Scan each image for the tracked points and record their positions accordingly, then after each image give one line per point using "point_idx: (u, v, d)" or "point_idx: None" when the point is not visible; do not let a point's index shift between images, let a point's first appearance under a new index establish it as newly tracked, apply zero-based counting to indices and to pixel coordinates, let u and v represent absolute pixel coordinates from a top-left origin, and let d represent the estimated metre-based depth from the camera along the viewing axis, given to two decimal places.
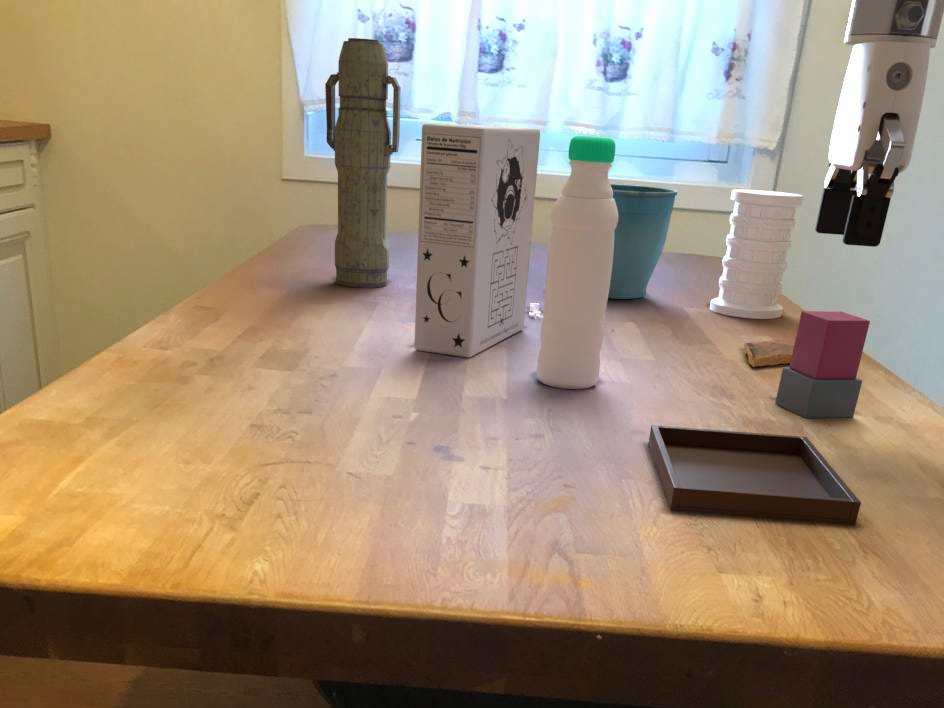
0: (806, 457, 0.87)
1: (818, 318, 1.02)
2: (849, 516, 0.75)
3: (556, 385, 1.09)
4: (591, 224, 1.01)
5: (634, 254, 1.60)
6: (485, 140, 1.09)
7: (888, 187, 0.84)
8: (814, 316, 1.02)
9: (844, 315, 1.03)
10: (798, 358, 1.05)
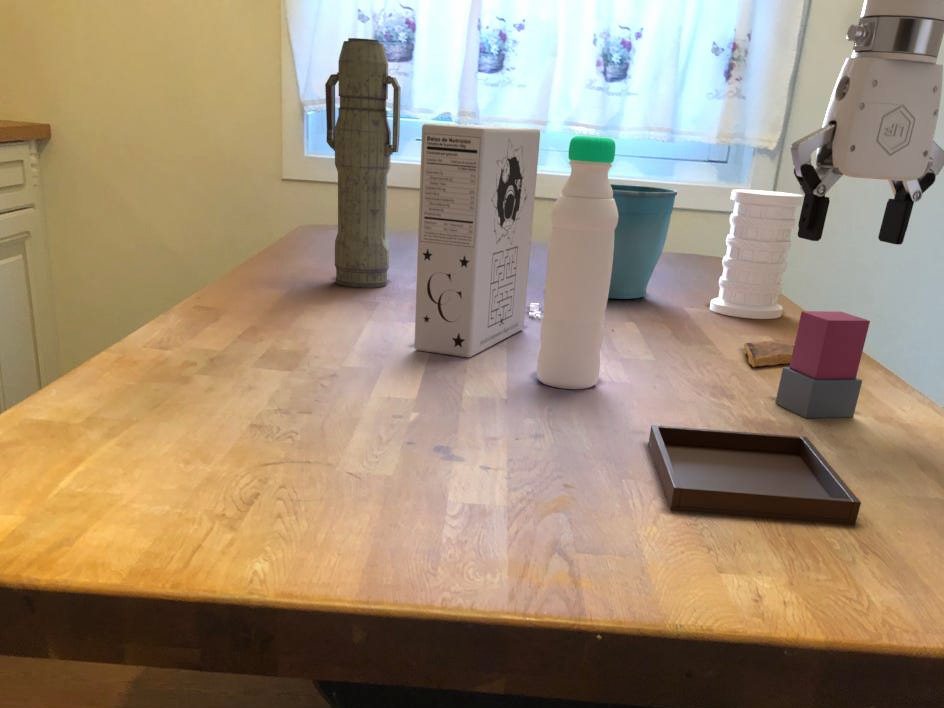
0: (806, 457, 0.87)
1: (818, 318, 1.02)
2: (849, 516, 0.75)
3: (556, 385, 1.09)
4: (591, 224, 1.01)
5: (634, 254, 1.60)
6: (485, 140, 1.09)
7: (807, 185, 0.95)
8: (814, 316, 1.02)
9: (844, 315, 1.03)
10: (798, 358, 1.05)
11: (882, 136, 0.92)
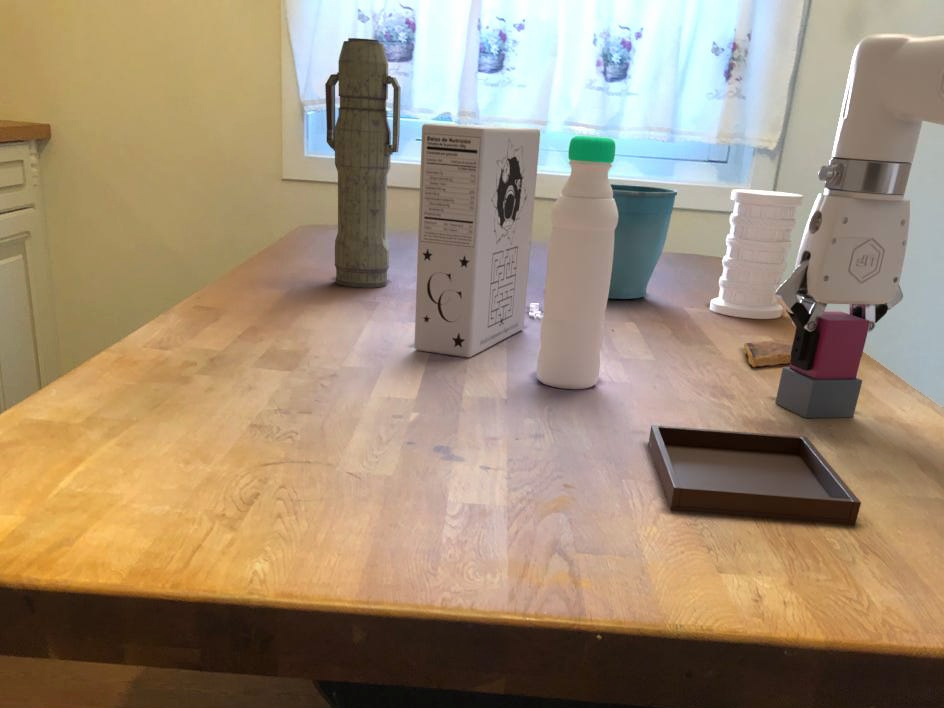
0: (806, 457, 0.87)
1: None
2: (849, 516, 0.75)
3: (556, 385, 1.09)
4: (591, 224, 1.01)
5: (634, 254, 1.60)
6: (485, 140, 1.09)
7: (798, 321, 1.01)
8: None
9: (844, 315, 1.03)
10: None
11: (853, 266, 0.98)
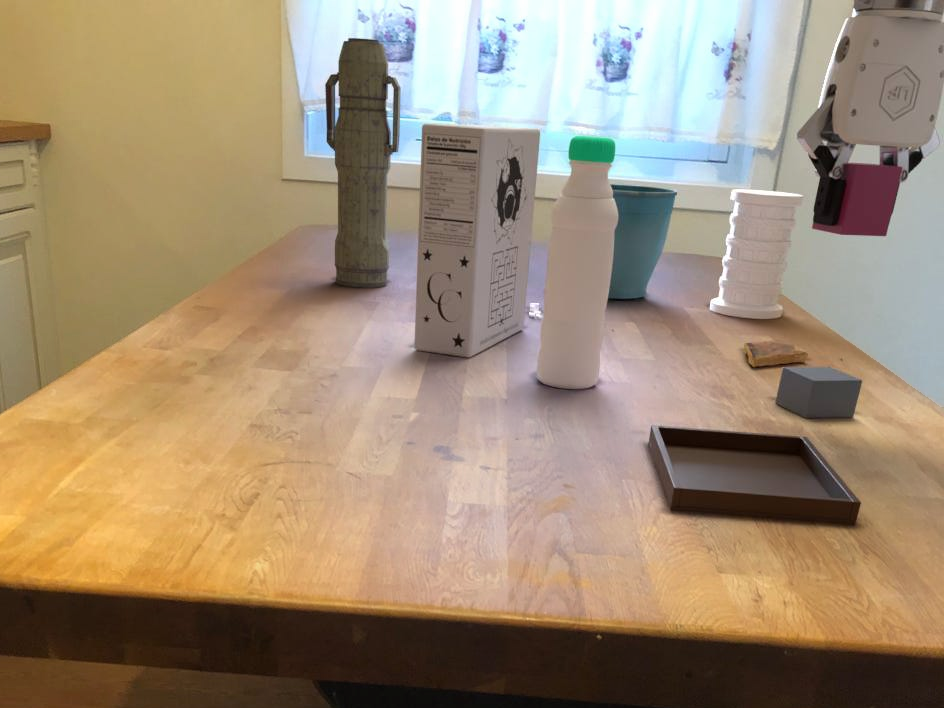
0: (806, 457, 0.87)
1: None
2: (849, 516, 0.75)
3: (556, 385, 1.09)
4: (591, 224, 1.01)
5: (634, 254, 1.60)
6: (485, 140, 1.09)
7: (823, 167, 0.91)
8: None
9: (873, 164, 0.93)
10: None
11: (885, 99, 0.87)
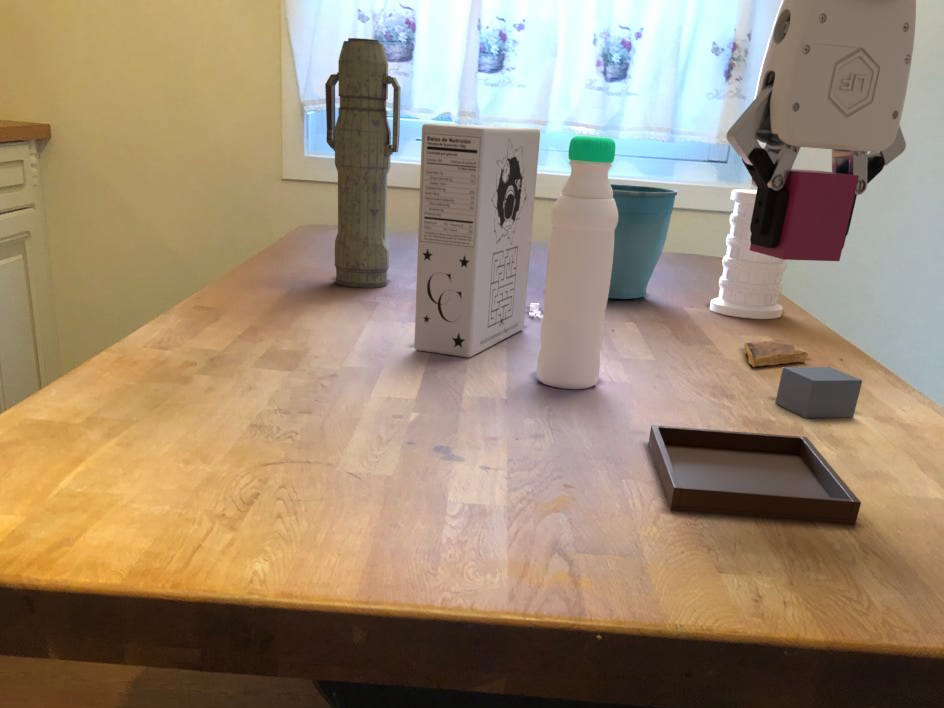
0: (806, 457, 0.87)
1: None
2: (849, 516, 0.75)
3: (556, 385, 1.09)
4: (591, 224, 1.01)
5: (634, 254, 1.60)
6: (485, 140, 1.09)
7: (759, 175, 0.72)
8: None
9: None
10: None
11: (836, 91, 0.69)
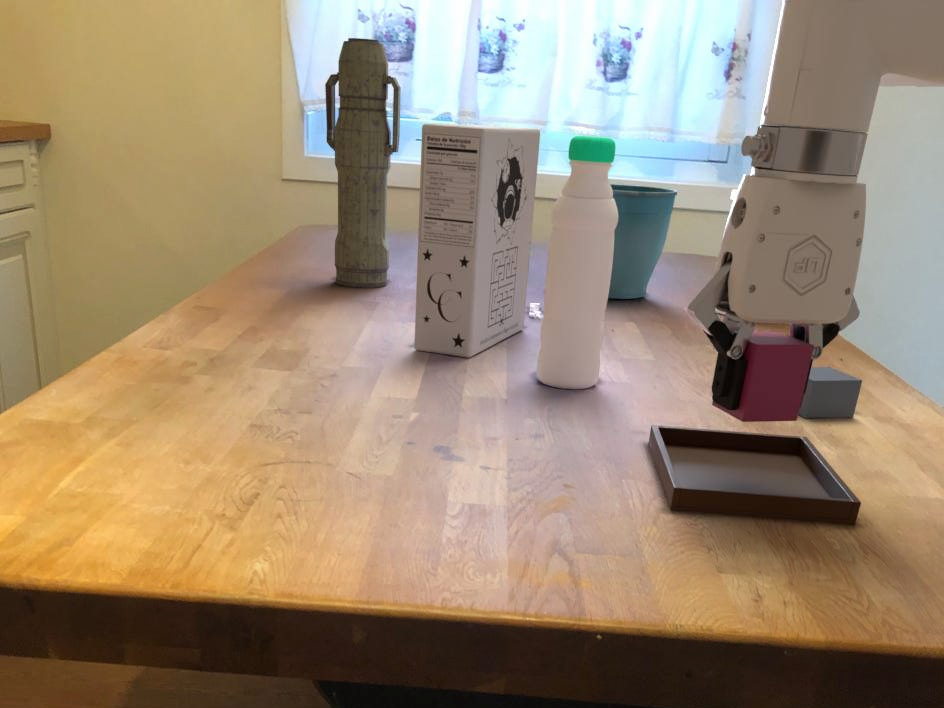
0: (806, 457, 0.87)
1: None
2: (849, 516, 0.75)
3: (556, 385, 1.09)
4: (591, 224, 1.01)
5: (634, 254, 1.60)
6: (485, 140, 1.09)
7: (719, 345, 0.76)
8: None
9: (781, 337, 0.78)
10: None
11: (790, 273, 0.72)
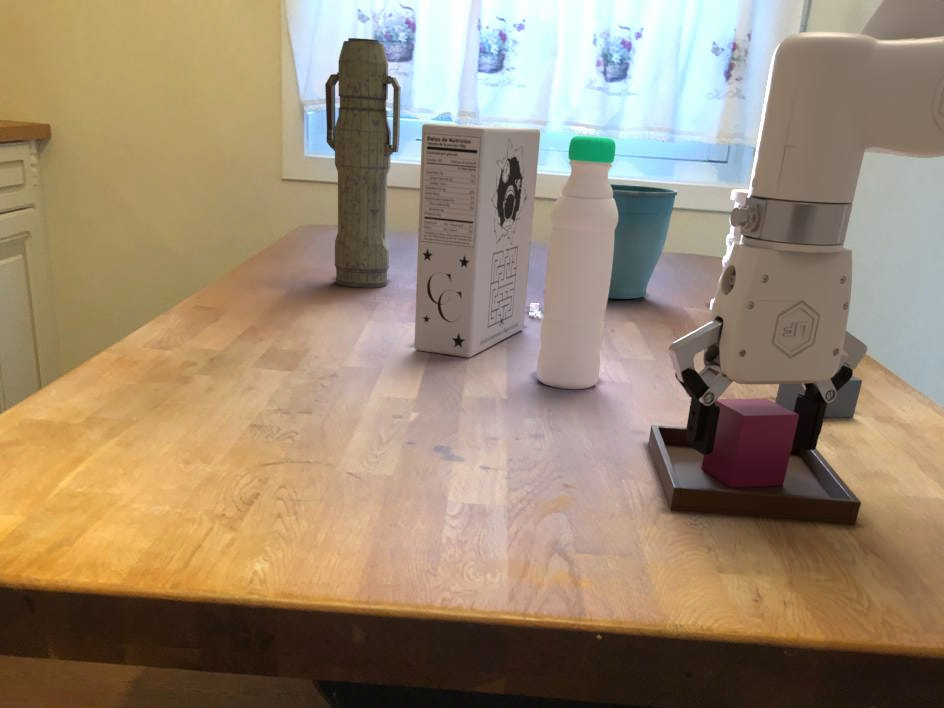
0: (806, 457, 0.87)
1: (732, 411, 0.79)
2: (849, 516, 0.75)
3: (556, 385, 1.09)
4: (591, 224, 1.01)
5: (634, 254, 1.60)
6: (485, 140, 1.09)
7: (692, 392, 0.77)
8: (728, 408, 0.80)
9: (767, 405, 0.81)
10: (711, 458, 0.83)
11: (779, 337, 0.75)
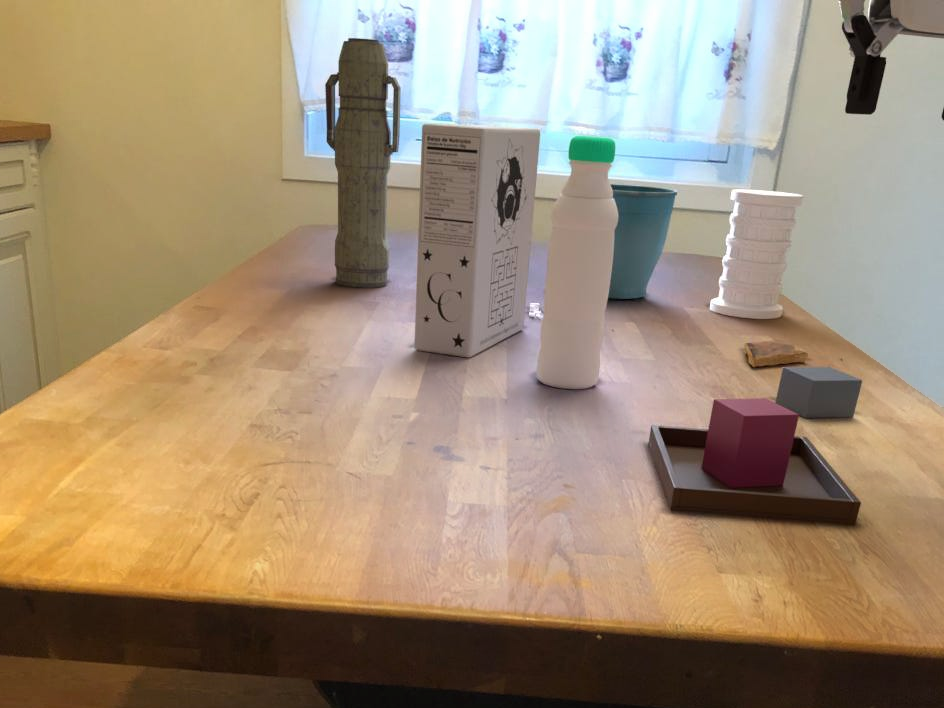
0: (806, 457, 0.87)
1: (732, 411, 0.79)
2: (849, 516, 0.75)
3: (556, 385, 1.09)
4: (591, 224, 1.01)
5: (634, 254, 1.60)
6: (485, 140, 1.09)
7: (859, 42, 0.77)
8: (728, 408, 0.80)
9: (767, 405, 0.81)
10: (711, 458, 0.83)
11: None
